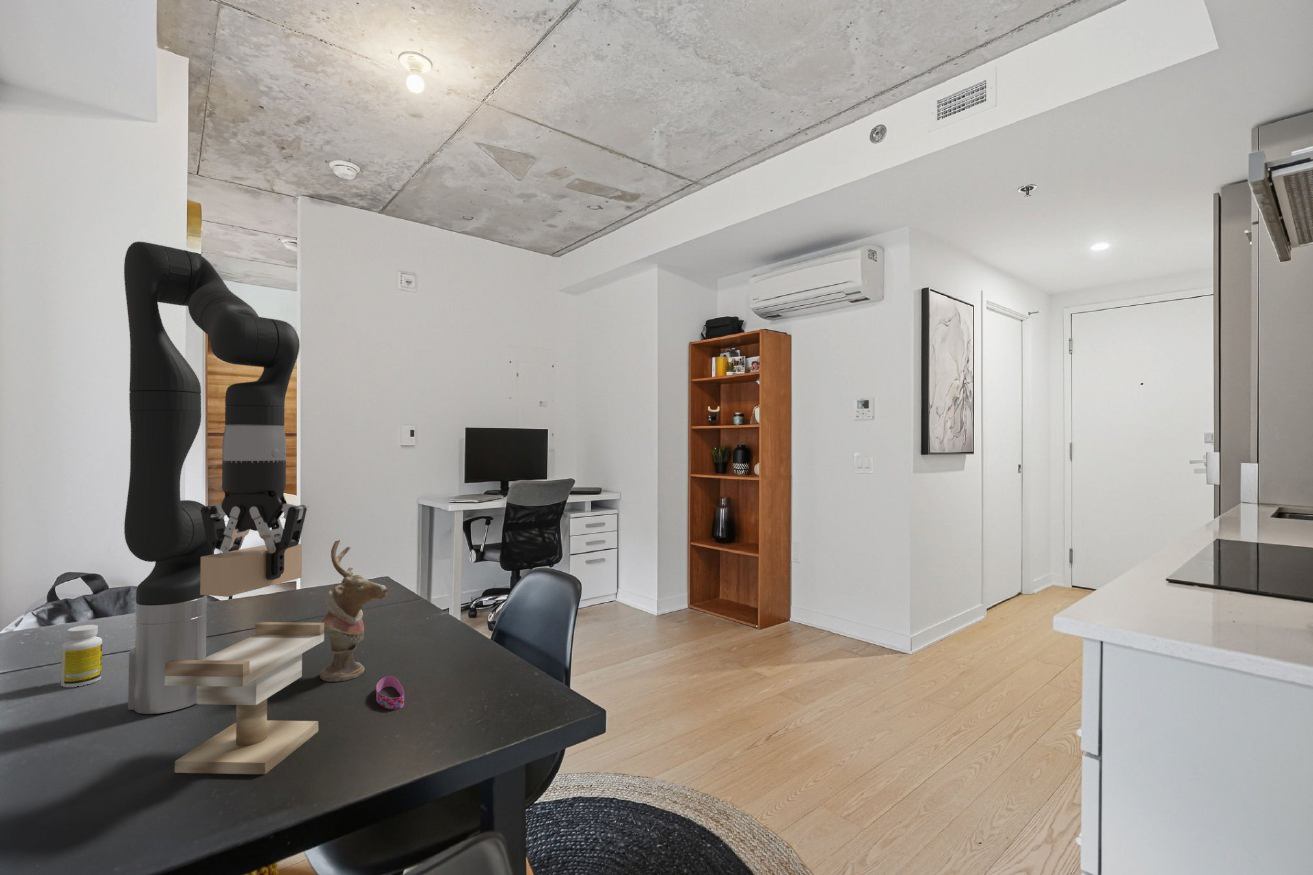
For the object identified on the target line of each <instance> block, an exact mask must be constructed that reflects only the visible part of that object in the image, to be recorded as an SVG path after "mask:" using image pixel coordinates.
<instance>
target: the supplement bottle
mask: <svg viewBox="0 0 1313 875" xmlns="http://www.w3.org/2000/svg"><path fill="white" fill-rule="evenodd" d="M98 626H99V625H96V624H85V625H78V626H74V627H70V628H68V629H67V631H66V633H67V635H66V638H67V639H68V640H67V641H65V642H64V643H62V645H61V650H60V651H61V655H60V658H61V659H60V686H61V687H62V686H63V687H62V688H78V687H77V686H79V687H83V685H84V686H87V684H88V685H91V684H95V683H97V682H99V681H100V680H101V679H102V677H103V676H102V674H103V673H102V672H103V670H102V669H103V639H102V638H101V637H99V636H97V634H98V632H99V631H98V629H99V627H98ZM98 680H99V681H98Z"/></svg>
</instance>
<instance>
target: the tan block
mask: <svg viewBox="0 0 1313 875" xmlns="http://www.w3.org/2000/svg"><path fill="white" fill-rule="evenodd" d="M268 553H269V552H268V551H267V548H266V545H265V544H264V545H263V544H262V545H257V546H252V547H247V548H242V549H241V548H240V549H239V550H235V551H229V552H224V553H223V552H219V553H214V554H213V555H208V556H202V557H201V577H200V595H207V596H212V597H213V596H214V597H226V598H228V597H232V596H237V595H240V594H245V593H248V592H251V591H255V590H259V589H263V588H267V587H271V586H275V585H278V584H283V583H286V582H290V581H293V580H299V579H301V578H302V576H303V575H302V574H303V573H302V570H303V568H302V565H303V554H302V553H303V543H299V544H298V545H297V546H293V547H291V548H288V549H286V550H285V553H284V572H283V574H281V576H280V578H277V579H274V580H267V579H266V554H268Z"/></svg>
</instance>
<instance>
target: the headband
mask: <svg viewBox="0 0 1313 875" xmlns="http://www.w3.org/2000/svg"><path fill="white" fill-rule="evenodd" d="M387 687H392V688H394V689H395V691H397V692H398V693H399V697H390V696H386V695H383V694H382V693H380V692H381V690H383V689H385V688H387ZM375 692H376V693H375V694H376V696H375V697H376V698H375V702H377V703H378V705H379V706H381V707H383V708H385V709H390V710H399V709H401V708H403V707H404V706H405V690H404V688H403V686H402V684H401V682H400V681H399V680H398V679H397V678H396V677H395V676H392V675H387V676H385V677H382V678H381V679H380V680H379V681H378V682H377V683H376V690H375Z"/></svg>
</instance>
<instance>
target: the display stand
mask: <svg viewBox="0 0 1313 875" xmlns="http://www.w3.org/2000/svg"><path fill="white" fill-rule="evenodd" d="M324 641H325V633H324V623H321V622H303V621H302V622H299V621H298V622H295V621H294V622H293V621H292V622H291V621H290V622H286V621H284V622H282V621H276V622H275V621H260V622H258V623H255V632H254V634H253V635H252V636H249V637H247V638H245V639H242V640H241V641H238V642H236V643H234V644H232V645H230V646H228V647H226V648H223V649H220V650H219V651H217V652H214V653H212V654H210V655H208V656H207V655H206V657H205V658H203V659H201V660H171V661H169V662H166V663H165V686H197V703H196V705H219V706H221V705H224V706H225V705H228V706H229V705H230V706H231V705H232V706H236V708H235V709H236V711H235V712H236V715H235V718H236V719H235V721H236V722H234V723H233V724H231V725H229V726H228V727H226V728H224V729H222V731H220V732H218V733H217V734H215V735H213V736H212V737H209V739H207V740H206V741H204V742H203V743H201V744H200V745H198V746H195V747H194V748H193V749H192V750H190V751H189V752H187V753H186V754H184V755H183V756H181V757H179V758H177V759H176V760H175V761H174V773H176V774H181V773H182V774H222V775H223V774H225V775H227V774H228V775H230V774H231V775H232V774H233V775H266V774H267V773H269V772H270V771H271V770H273V769H274V768H275V767H276V766H277V765H279V764H280V763H281V762H282V761H283V760H285V759H286V758H287V757H288V756H290V755H291V754H292V753H293V752H295V751H296V750H297V749H299V748H300V747H301V746H302V745H303V744H305V743H306V742H307V741H309V740H310V739H311V738H312V737H313V736H315V735H316V734H317V733H318V732H319V721H318V720H268V698H270V697H272V696H273V695H275V694H277V692H280V691H281V690H283V689H284V688H286V687H288V686H289V685H290V684H292V683H294V682H296V681H297V680H299V679H300V678H302V677H303V654H304V653H306V652H307V651H309V650H311V649H313V648H315V646H317V645H319V644H321V643H323V642H324Z"/></svg>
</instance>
